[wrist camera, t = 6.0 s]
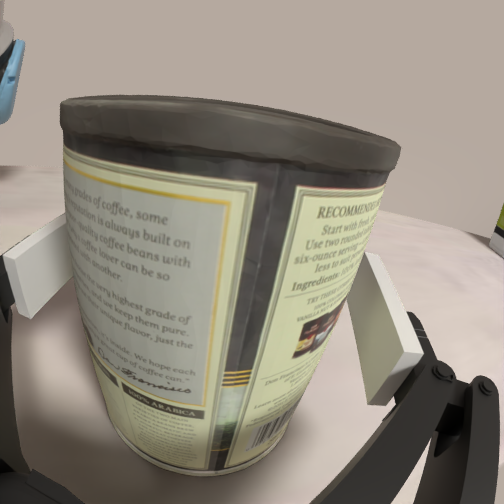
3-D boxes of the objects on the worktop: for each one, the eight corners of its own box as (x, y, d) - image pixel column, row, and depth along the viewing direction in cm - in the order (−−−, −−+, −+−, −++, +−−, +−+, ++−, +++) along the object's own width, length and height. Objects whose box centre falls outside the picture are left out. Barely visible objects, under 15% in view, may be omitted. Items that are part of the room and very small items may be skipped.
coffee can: (161, 310, 21) (175, 94, 14) (304, 361, 19) (380, 135, 12) (67, 415, 12) (-6, 104, 5) (260, 507, 10) (461, 171, 3)
